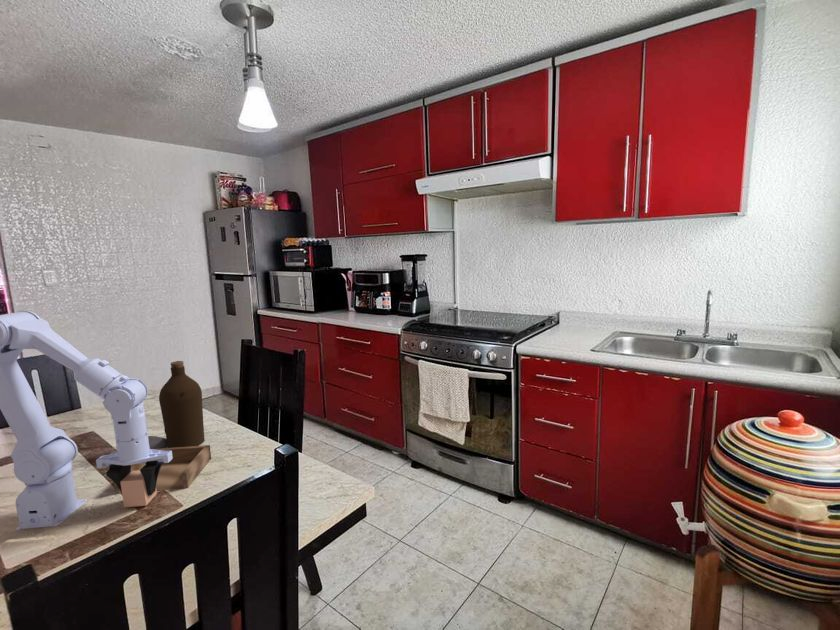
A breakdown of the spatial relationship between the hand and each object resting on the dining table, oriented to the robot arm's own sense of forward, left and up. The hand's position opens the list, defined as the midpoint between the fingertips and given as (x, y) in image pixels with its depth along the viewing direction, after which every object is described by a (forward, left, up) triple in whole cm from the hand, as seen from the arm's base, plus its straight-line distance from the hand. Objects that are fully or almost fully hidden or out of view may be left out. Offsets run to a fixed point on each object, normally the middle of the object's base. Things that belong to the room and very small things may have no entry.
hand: (139, 494), depth 91 cm
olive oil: (+30, +3, -3) cm, 30 cm away
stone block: (+26, +14, -3) cm, 29 cm away
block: (0, 0, -2) cm, 2 cm away
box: (+12, 0, -3) cm, 12 cm away
